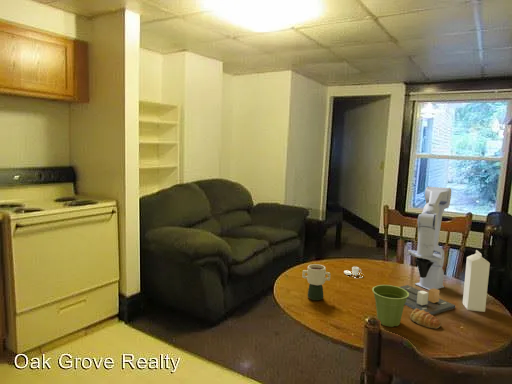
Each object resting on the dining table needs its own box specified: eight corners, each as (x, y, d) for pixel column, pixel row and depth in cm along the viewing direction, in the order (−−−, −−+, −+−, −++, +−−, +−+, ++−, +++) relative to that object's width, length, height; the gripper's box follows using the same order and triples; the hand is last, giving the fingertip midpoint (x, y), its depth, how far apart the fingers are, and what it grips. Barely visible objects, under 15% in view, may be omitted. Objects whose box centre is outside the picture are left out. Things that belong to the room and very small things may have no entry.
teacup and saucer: (341, 275, 171) (341, 266, 171) (350, 271, 177) (351, 263, 176) (357, 280, 165) (358, 271, 164) (366, 276, 170) (367, 268, 170)
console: (407, 287, 156) (407, 284, 156) (455, 308, 137) (455, 304, 136) (381, 293, 149) (382, 290, 149) (428, 316, 130) (429, 312, 130)
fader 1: (422, 301, 138) (422, 290, 138) (427, 304, 136) (428, 292, 136) (416, 303, 137) (417, 291, 136) (422, 305, 135) (423, 294, 134)
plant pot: (367, 313, 131) (369, 283, 130) (401, 315, 130) (403, 285, 128) (374, 329, 119) (376, 297, 118) (411, 332, 118) (414, 299, 117)
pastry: (444, 326, 123) (445, 315, 122) (434, 332, 119) (435, 321, 118) (418, 315, 130) (418, 305, 130) (407, 321, 126) (408, 310, 126)
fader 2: (433, 299, 141) (434, 288, 140) (438, 301, 139) (439, 290, 138) (428, 300, 139) (428, 289, 139) (433, 303, 137) (434, 291, 137)
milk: (467, 310, 135) (472, 253, 132) (462, 303, 141) (467, 248, 138) (485, 312, 134) (490, 254, 131) (479, 305, 140) (484, 250, 137)
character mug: (329, 296, 146) (330, 265, 144) (329, 303, 139) (330, 271, 137) (302, 293, 148) (303, 263, 146) (300, 300, 141) (301, 268, 139)
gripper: (403, 240, 145) (401, 272, 147) (435, 249, 133) (432, 284, 134) (415, 238, 149) (412, 270, 150) (447, 247, 136) (444, 282, 138)
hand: (423, 277), depth 143 cm, fingers closed
